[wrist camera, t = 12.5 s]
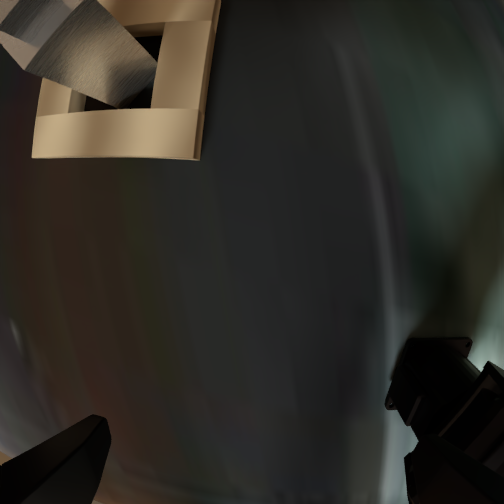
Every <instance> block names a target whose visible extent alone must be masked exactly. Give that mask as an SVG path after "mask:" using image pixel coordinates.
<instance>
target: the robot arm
mask: <svg viewBox="0 0 504 504" xmlns="http://www.w3.org/2000/svg"><path fill="white" fill-rule="evenodd" d="M466 343H467V344H466ZM472 343H473V342H472V340H471V339H470V338H469V337H453V338H411V339H409V340H408V341H407V343H406V345H405V348H404V351H403V354H402V357H401V360H400V363H399V366H398V367H397V369H396V372H395V375H394V377H393V380H392V383H391V386H390V388H389V391H388V396H387V399H386V401H385V407H386V409H387V410H398V412H399V414H400V416H401V418H402V420H403V421H404V423H405V425H406V426H411V428H412V430H413V431H414V433H415V435H416V437H417V439H418V441H419V442H418V443H417V445H416V447H415V449H414V450H413V451H412V452H410V453H408V454H407V455H406V456H405V457H404V464H405V474H406V485H407V496H408V501H409V504H504V370H503V369H501V368H500V367H498V366H496V365H495V364H493V363H492V362H490V361H487V363H486V364H485V366H484V367H483V368H484V369H483V371H482V372H480V371H479V370H478V369H477V368H476V367H475V366H474V365H473V364H472V363H471V362H470V361H469V360H468V359H467V357H468V354H469V352H470V349H471V346H472ZM412 344H414V346H412V347H411V345H412ZM391 403H392V404H391ZM390 404H391V405H390ZM110 445H111V434H110V430H109V426H108V422H107V419H106V418H104V417H102V416H98V415H94V414H93V415H90V416H88V417H87V418H85V419H83V420H81V421H80V422H78V423H76V424H75V425H73V426H71V427H69V428H68V429H66V430H64V431H62V432H61V433H59V434H57V435H55V436H53V437H52V438H50V439H48V440H46V441H44V442H43V443H41V444H39V445H37V446H35V447H33V448H32V449H30V450H28V451H26V452H24V453H22V454H20V455H19V456H17V457H15V458H13V459H11V460H9V461H7V462H5V463H3V464H2V466H1V465H0V504H91V503H92V501H93V499H94V496H95V494H96V492H97V489H98V487H99V484H100V480H101V477H102V473H103V470H104V466H105V462H106V459H107V456H108V452H109V449H110Z"/></svg>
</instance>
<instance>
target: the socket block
mask: <svg viewBox="0 0 504 504" xmlns="http://www.w3.org/2000/svg"><path fill="white" fill-rule="evenodd" d="M97 1H98V2H99V3H100V4H101V5H102V6H103V7H104V8H105V9H106V10H107V11H108V12H109V13H110V14H111V15H112V16H113V17H114V18H115V19H116V20H117V21H118V22H119V23H120V24H121V25H122V26H123V27H124V28H125V29H126V30H127V31H128V32H129V33H130V34H131V35H132V36H133V37H145V36H159V35H163V37H162V42H161V47H160V53H159V58H158V64H157V69H156V75H155V82H154V88H153V95H152V102H151V109H117V110H99V111H86V112H84V109H85V102H86V96H87V95H85V94H83V93H81V92H78V91H76V90H73V89H71V88H69V87H66V86H64V85H61V84H59V83H56V82H54V81H51V80H49V79H46V78H43V80H42V85H41V91H40V96H39V102H38V108H37V115H36V122H35V130H34V139H33V150H32V158H75V157H133V158H165V159H186V160H200V153H201V143H202V133H203V124H204V116H205V107H206V99H207V91H208V84H209V76H210V69H211V62H212V55H213V48H214V42H215V36H216V29H217V23H218V17H219V11H220V6H221V0H97Z"/></svg>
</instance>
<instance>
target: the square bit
mask: <svg viewBox="0 0 504 504" xmlns="http://www.w3.org/2000/svg"><path fill="white" fill-rule="evenodd" d="M0 43H1V44H2V45H3V47H4V48H5V49H6V50H7V51H8V52H9V54H10V55H11V56H12V57H13V58H14V59H15V60H16V62H17V63H18V64H19V65H20V66H21V67H22V69H23V70H25V71H28V72H30V73H33V74H36V75H38V76H41V77H43V78H46V79H49V80H51V81H54V82H56V83H59V84H61V85H64V86H66V87H69V88H71V89H73V90H76V91H78V92H81V93H83V94H85V95H88V96H90V97H92V98H95V99H97V100H99V101H102V102H104V103H106V104H109V105H111V106H113V107H115V108H118V109H126V108H127V107H128V106H129V105H130V103H131V102H132V101H133V100H134V99H135V98H136V97H137V96H138V95H139V94H140V93H141V91H142V90H143V89H144V88H145V87H146V86H147V85H148V84H149V83H150V82H151V81H152V80H153V79H154V78H155V75H156V69H157V64H158V63H157V62H156V61H155V60H154V59H153V58H152V56H151V55H150V54H149V53H148V52H147V51H146V50H145V49H144V48H143V47H142V46H141V45H140V44H139V43H138V42H137V41H136V39H135V38H134V37H133V36H132V35H131V34H130V33H129V32H128V31H127V30H126V29H125V28H124V27H123V26H122V25H121V24H120V23H119V22H118V21H117V20H116V19H115V18H114V17H113V16H112V15H111V14H110V13H109V12H108V11H107V10H106V9H105V8H104V7H103V6H102V5H101V4H100V3H99V2H98V1H97V0H0Z"/></svg>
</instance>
